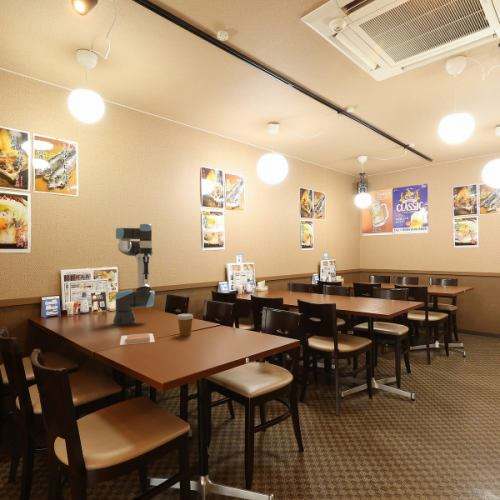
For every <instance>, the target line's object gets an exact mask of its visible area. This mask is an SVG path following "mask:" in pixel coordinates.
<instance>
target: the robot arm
mask: <svg viewBox="0 0 500 500" xmlns="http://www.w3.org/2000/svg"><path fill="white" fill-rule="evenodd" d="M152 232H153V228H152V224H151V223H140V224H139V227H116V229H115V239H116V240H119V241H118V244H117V248H118V250H119V252H120V253H122V254H123V255H125V256H128V257H134V259H135V260H136V261H137V263H136V265H137V288H135V291H134V289H125V290H119V291H117V292H115V298H114V299H115V313H114V317H113V320H112V325H114V326H129V325H133V324H136V322H137V321H136V317H135V314H134V309H136V308H137V309H138V308H151V307H153V306H154V301H155V294H156V293H155V290H153V288H152V286H151V277H150V275H151V274H150V259H151V257H152V256H153V255H154V253H153V241H152V240H153V239H152V235H153V233H152Z"/></svg>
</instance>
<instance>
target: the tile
mask: <svg viewBox="0 0 500 500" xmlns="http://www.w3.org/2000/svg"><path fill="white" fill-rule="evenodd" d="M149 334H150V333H149V332H146V333H145V332H144V333H134V334H127V343H137V342H149V341H150V335H149ZM149 343H150V342H149ZM137 344H138V343H137Z"/></svg>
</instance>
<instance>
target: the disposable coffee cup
mask: <svg viewBox="0 0 500 500" xmlns="http://www.w3.org/2000/svg"><path fill="white" fill-rule="evenodd" d="M193 318H194V315H193V314H192V313H180V314H177V321H178V329H179V330H178V331H179V335H180V336H182V337H187V336H191V335H192V327H193V326H192V325H193Z"/></svg>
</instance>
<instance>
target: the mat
mask: <svg viewBox="0 0 500 500" xmlns="http://www.w3.org/2000/svg"><path fill="white" fill-rule="evenodd" d="M153 333H154V332H153ZM153 333H149V335H150V341H149V342H137V343H127V335H128V334H127V335H121V336H120V340H119V345H120V346H123V345H133V344H135V345H136V344H146V343H155V337H154V334H153Z"/></svg>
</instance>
